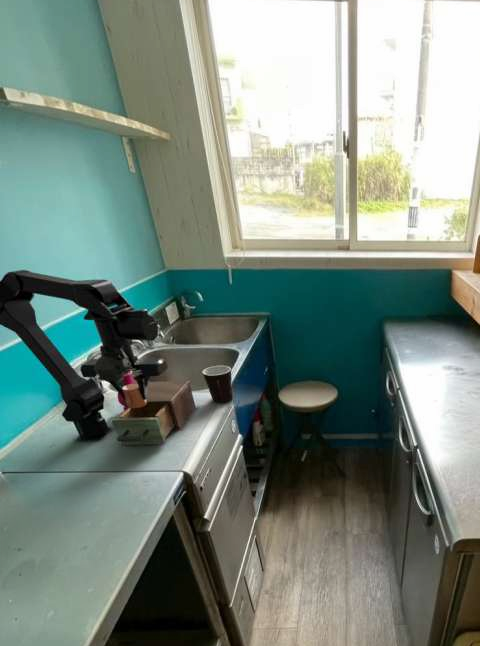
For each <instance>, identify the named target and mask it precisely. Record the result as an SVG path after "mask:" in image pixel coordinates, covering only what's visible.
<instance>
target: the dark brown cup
mask: <svg viewBox="0 0 480 646" xmlns="http://www.w3.org/2000/svg"><path fill="white" fill-rule="evenodd" d="M202 376H203V378H204V380H205V383H206V386H207V389H208V391H209V394H210V397H211V400H212V402H213V403H214V404H218V405H219V404H220V405H221V404H227V403H230V402H232V401H233V399H234V392H233V391H234V390H233V378H232V368H231V367H230V366H228V365H214V366H210V367H207V368H205V369H203V370H202Z"/></svg>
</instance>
